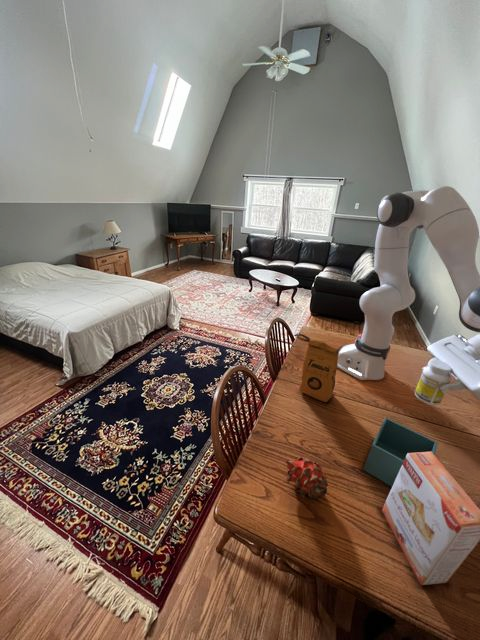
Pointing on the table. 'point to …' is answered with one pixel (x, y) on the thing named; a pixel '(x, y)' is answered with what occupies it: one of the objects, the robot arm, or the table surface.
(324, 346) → the coffee package
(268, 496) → the table surface
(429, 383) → the pill bottle
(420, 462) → the cracker box
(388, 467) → the trash bin
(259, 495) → the table surface
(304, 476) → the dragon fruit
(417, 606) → the table surface
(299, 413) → the table surface
